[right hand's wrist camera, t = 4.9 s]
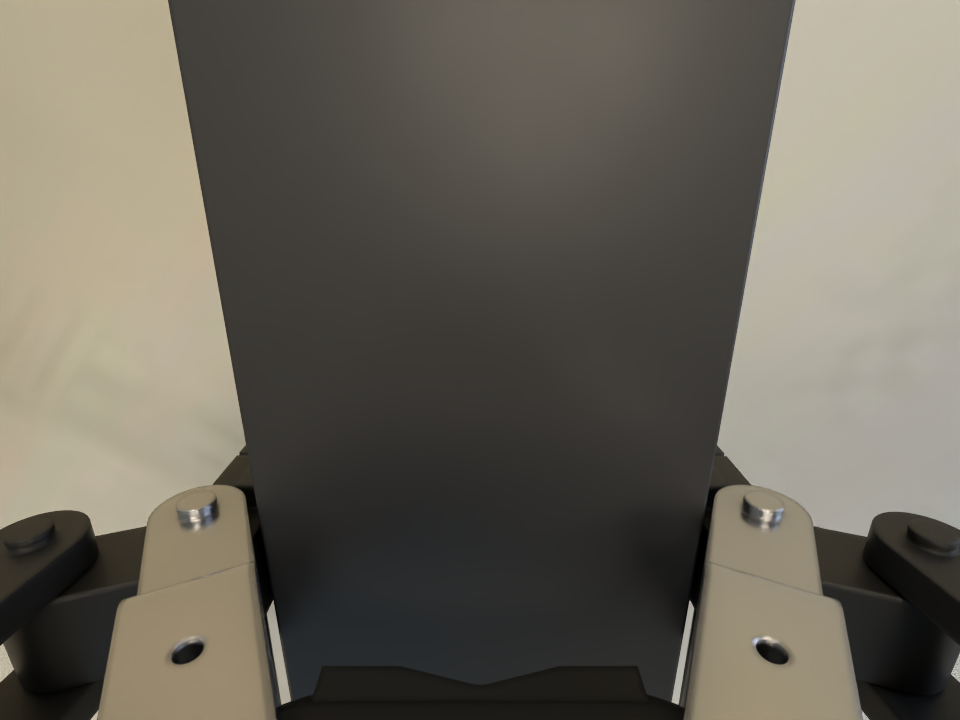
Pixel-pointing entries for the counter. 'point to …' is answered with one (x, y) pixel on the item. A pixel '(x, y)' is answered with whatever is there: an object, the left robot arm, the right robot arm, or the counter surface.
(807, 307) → the counter surface
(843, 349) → the counter surface
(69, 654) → the right robot arm
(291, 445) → the box
